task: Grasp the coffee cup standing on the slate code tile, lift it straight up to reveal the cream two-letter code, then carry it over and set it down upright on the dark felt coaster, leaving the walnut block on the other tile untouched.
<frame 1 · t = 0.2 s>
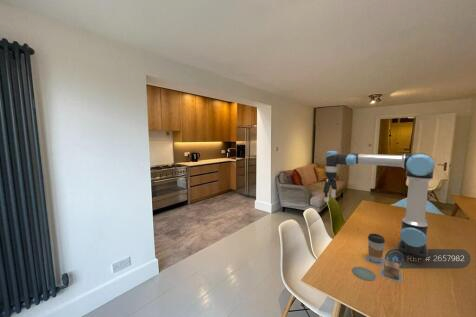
hand: (329, 199, 154), 28 cm above the table, fingers open, 13 cm apart
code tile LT: (374, 260, 123), on the table
coaster: (363, 274, 110), on the table
walnut block: (390, 274, 109), resting on code tile II
coffee cup: (374, 260, 123), resting on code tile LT
code tile II: (390, 275, 109), on the table
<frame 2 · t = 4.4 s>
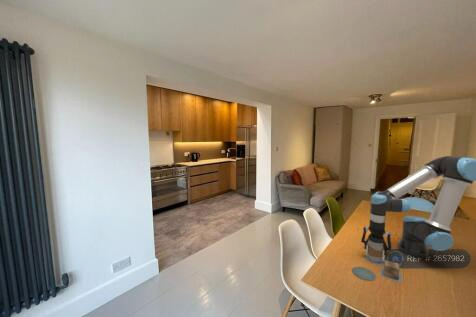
hand: (375, 257, 123), 2 cm above the table, fingers closed on coffee cup, 7 cm apart
coffee cup: (374, 260, 123), resting on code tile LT, touching gripper
everything else where it was.
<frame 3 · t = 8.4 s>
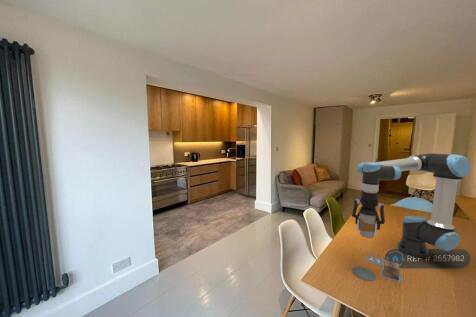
hand: (366, 232, 110), 23 cm above the table, fingers closed on coffee cup, 7 cm apart
coffee cup: (366, 236, 110), point 21 cm above the table, touching gripper
everything else where it was.
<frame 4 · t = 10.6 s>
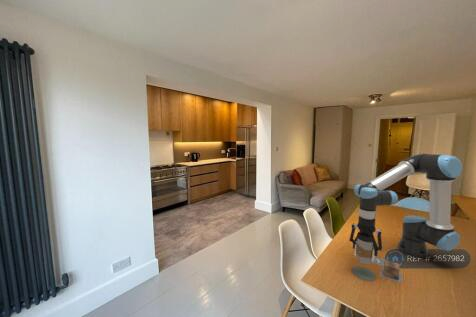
hand: (364, 257, 109), 9 cm above the table, fingers closed on coffee cup, 7 cm apart
coffee cup: (364, 261, 110), point 7 cm above the table, touching gripper
everything else where it was.
when the fingers open (4 cm above the table, at t = 12.3 s): coffee cup drops 2 cm, resting on coaster.
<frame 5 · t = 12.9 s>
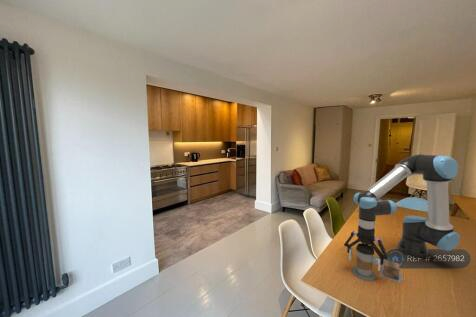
hand: (364, 264, 110), 6 cm above the table, fingers open, 13 cm apart
coffee cup: (363, 273, 110), resting on coaster
everything else where it was.
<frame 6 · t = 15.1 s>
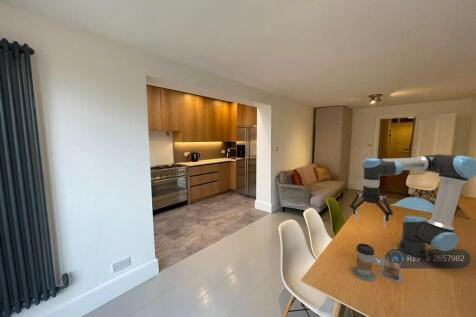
hand: (369, 223, 115), 26 cm above the table, fingers open, 13 cm apart
nothing on the table moved.
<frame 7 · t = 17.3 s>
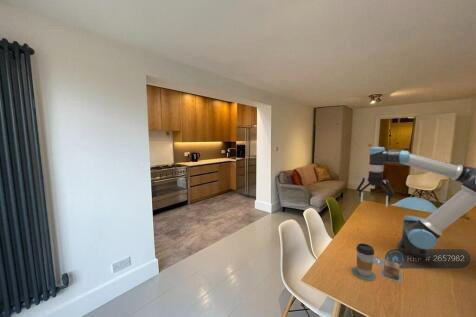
hand: (373, 203, 130), 32 cm above the table, fingers open, 13 cm apart
nothing on the table moved.
at the end: coffee cup 0.1 cm from the coaster (horizontally); coffee cup tilted 0°; coffee cup resting on coaster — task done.
